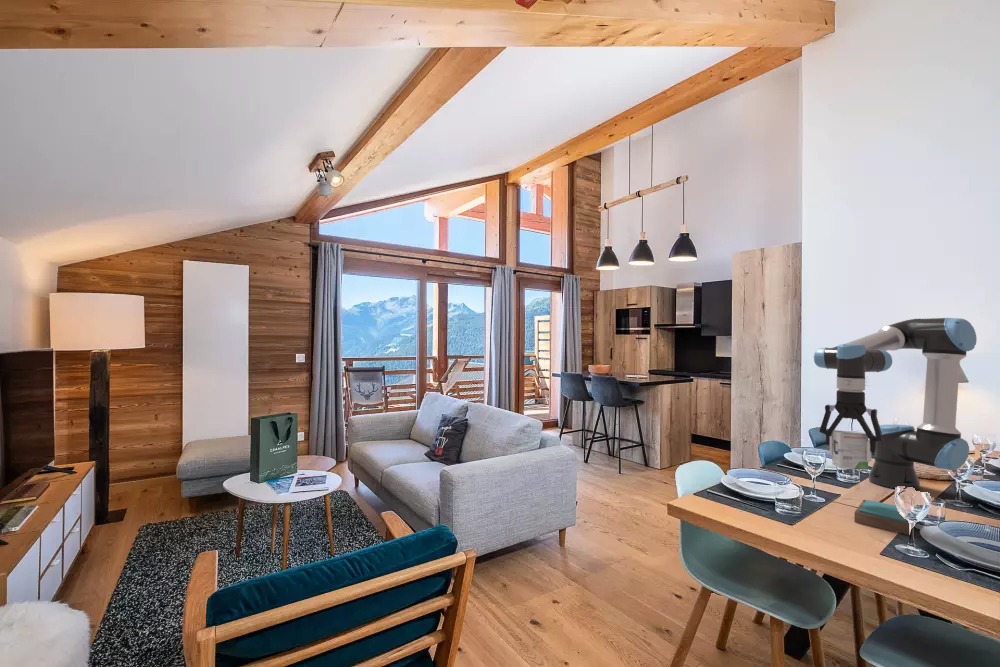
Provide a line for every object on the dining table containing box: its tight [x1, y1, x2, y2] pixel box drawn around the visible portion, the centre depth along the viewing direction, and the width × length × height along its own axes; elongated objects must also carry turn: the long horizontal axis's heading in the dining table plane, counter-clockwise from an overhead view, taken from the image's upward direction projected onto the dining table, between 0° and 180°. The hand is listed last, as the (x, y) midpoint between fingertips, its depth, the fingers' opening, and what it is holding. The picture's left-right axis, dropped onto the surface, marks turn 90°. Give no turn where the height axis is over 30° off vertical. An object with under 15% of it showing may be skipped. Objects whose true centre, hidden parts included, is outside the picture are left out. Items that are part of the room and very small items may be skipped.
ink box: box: [831, 429, 869, 470], centre depth 153 cm, size 9×5×12 cm, turn 83°
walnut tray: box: [854, 499, 909, 536], centre depth 145 cm, size 16×13×4 cm
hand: (849, 457), depth 153 cm, fingers closed on ink box, 9 cm apart
